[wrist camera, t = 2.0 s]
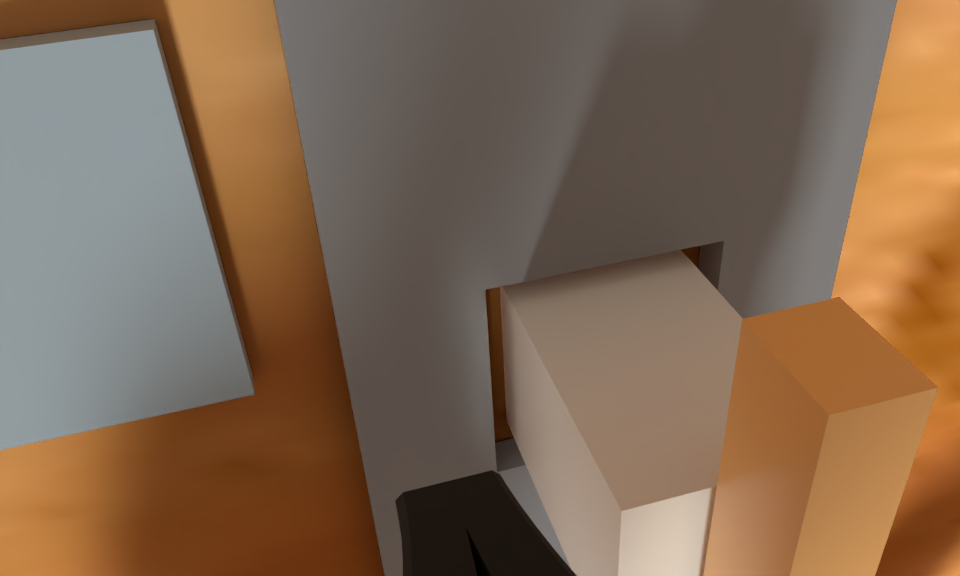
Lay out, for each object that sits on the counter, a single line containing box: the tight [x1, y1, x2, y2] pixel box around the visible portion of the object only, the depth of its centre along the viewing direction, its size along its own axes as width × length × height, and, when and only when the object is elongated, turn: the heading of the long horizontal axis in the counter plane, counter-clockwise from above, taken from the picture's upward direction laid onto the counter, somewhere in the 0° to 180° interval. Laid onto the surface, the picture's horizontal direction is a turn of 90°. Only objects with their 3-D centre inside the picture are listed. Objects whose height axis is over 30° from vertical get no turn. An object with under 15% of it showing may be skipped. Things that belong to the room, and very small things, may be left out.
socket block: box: [273, 0, 897, 576], centre depth 19 cm, size 23×12×7 cm, turn 3°
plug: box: [500, 250, 743, 576], centre depth 18 cm, size 4×4×7 cm
